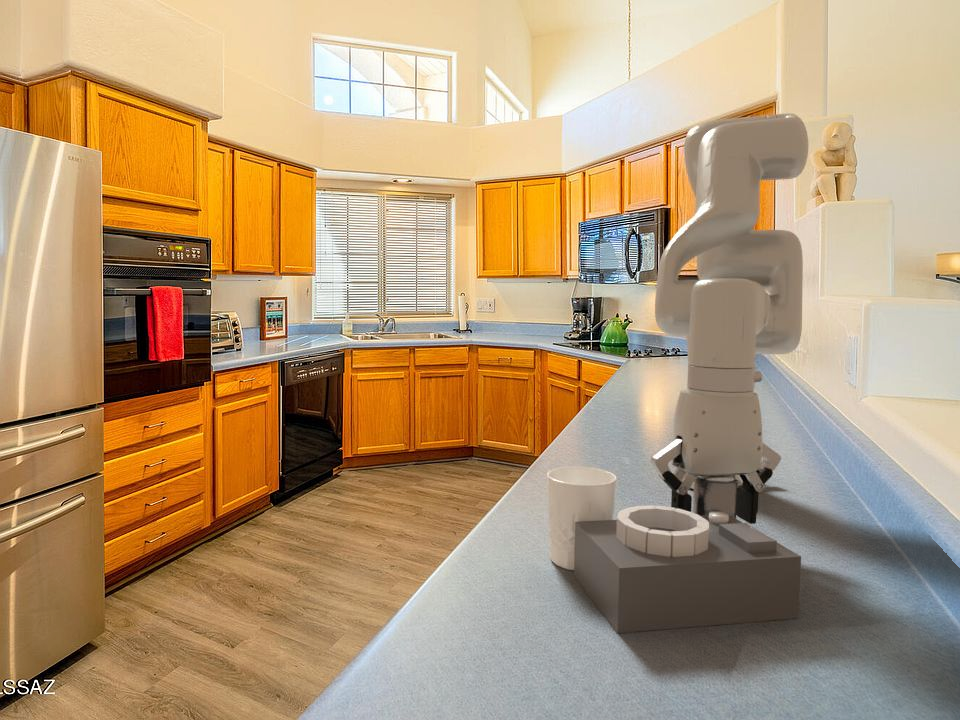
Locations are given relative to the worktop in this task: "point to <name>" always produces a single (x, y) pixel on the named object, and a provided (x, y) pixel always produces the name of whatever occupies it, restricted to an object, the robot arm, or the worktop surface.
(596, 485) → the white cup
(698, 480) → the shiny metal cylinder
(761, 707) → the worktop surface
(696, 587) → the camera body
